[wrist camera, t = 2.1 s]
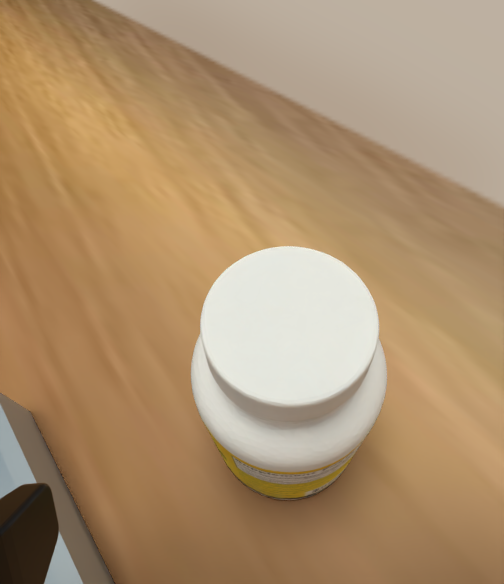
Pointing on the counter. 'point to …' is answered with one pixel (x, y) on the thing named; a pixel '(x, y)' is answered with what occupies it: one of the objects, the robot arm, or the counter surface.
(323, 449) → the supplement bottle
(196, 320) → the counter surface
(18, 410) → the tray
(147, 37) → the counter surface
